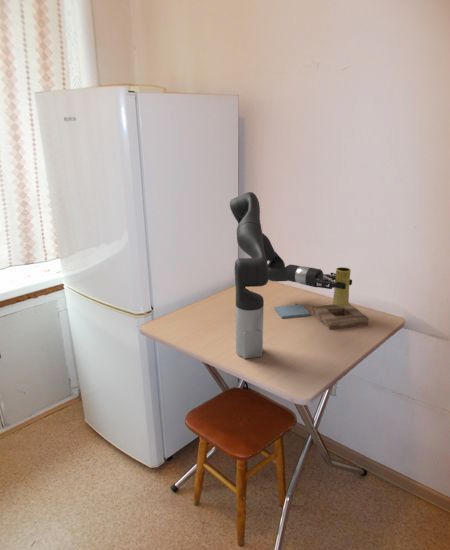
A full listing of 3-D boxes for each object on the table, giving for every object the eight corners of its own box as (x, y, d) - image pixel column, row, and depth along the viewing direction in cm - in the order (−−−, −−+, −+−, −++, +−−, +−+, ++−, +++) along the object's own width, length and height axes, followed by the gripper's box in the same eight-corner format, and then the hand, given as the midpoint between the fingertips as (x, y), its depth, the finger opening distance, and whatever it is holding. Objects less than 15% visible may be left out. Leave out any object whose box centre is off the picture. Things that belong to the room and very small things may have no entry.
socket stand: (368, 325, 164) (368, 318, 163) (329, 329, 160) (330, 322, 159) (348, 309, 178) (348, 302, 177) (312, 313, 175) (312, 306, 174)
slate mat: (309, 315, 173) (310, 313, 173) (282, 318, 171) (282, 316, 170) (300, 306, 182) (300, 304, 182) (274, 309, 180) (274, 306, 180)
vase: (351, 303, 167) (354, 268, 163) (343, 307, 163) (346, 272, 158) (337, 299, 171) (340, 265, 167) (329, 303, 167) (332, 269, 162)
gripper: (300, 271, 166) (342, 280, 156) (317, 263, 177) (356, 270, 167) (300, 289, 168) (340, 299, 158) (316, 280, 179) (355, 288, 169)
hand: (348, 284), depth 163 cm, fingers closed on vase, 5 cm apart
